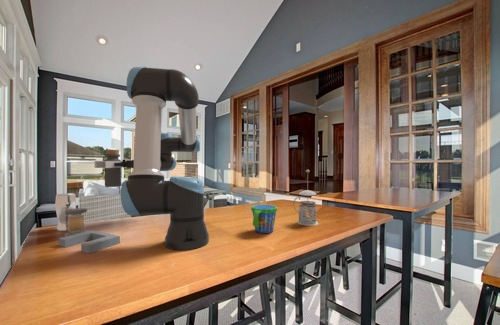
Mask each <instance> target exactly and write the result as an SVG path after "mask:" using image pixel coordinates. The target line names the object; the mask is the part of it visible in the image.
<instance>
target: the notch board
mask: <svg viewBox="0 0 500 325" xmlns="http://www.w3.org/2000/svg"><path fill="white" fill-rule="evenodd" d="M77 244H80V247H81V248H80V251H81V253H85V254H88V255H89V254H91V253H95V252H98V251H101V250H103V249H107V248H109V247H112V246H115V245H118V244H121V235H119V234H118V235H117V234H113V233H112V234H111V233H106V232H102V231H97V230H92V229H90V230H86V231H85V232H81V233H77V234H73V235H69V236H65V235H64V236H62V237H59V238H58V246H59V247H64V248H68V247H70V246H75V245H77Z"/></svg>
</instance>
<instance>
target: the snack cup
mask: <svg viewBox="0 0 500 325" xmlns="http://www.w3.org/2000/svg"><path fill="white" fill-rule="evenodd" d="M250 209H251V212H252V216H253V219H252V226H253V227H254V229H255V232H256V233H259V234H270V233H272V232H273V231H274V228H275V223H276V214H277V211H278V206H276V205H272V204H255V205H252V206H251V207H250Z"/></svg>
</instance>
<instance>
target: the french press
mask: <svg viewBox="0 0 500 325" xmlns="http://www.w3.org/2000/svg"><path fill="white" fill-rule="evenodd" d="M305 173H307V179H306V180H307V181H306V182H307V185H306V186H307V190H303V191H300V192H299V193H298V195H300V196H305V197H306V196H307V200H303V201H302V200H301V197H300V196H296V197H295V198H294V200H293V201H292V202H293V203H292V206H293V210H295V211H296V212H297V213H298V221H297V222H296V223H297V225H301V226H306V227H307V226H309V227H313V226H318V225H319V222H318V221H317V205H315V204H316V201H309V197H313V196H317V193H316V192H315V191H312V190H309V173H310V169H306V170H305ZM297 199H298V200H300V201H299V203H300V204H299V210H296V206H295V202H296V200H297Z"/></svg>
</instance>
